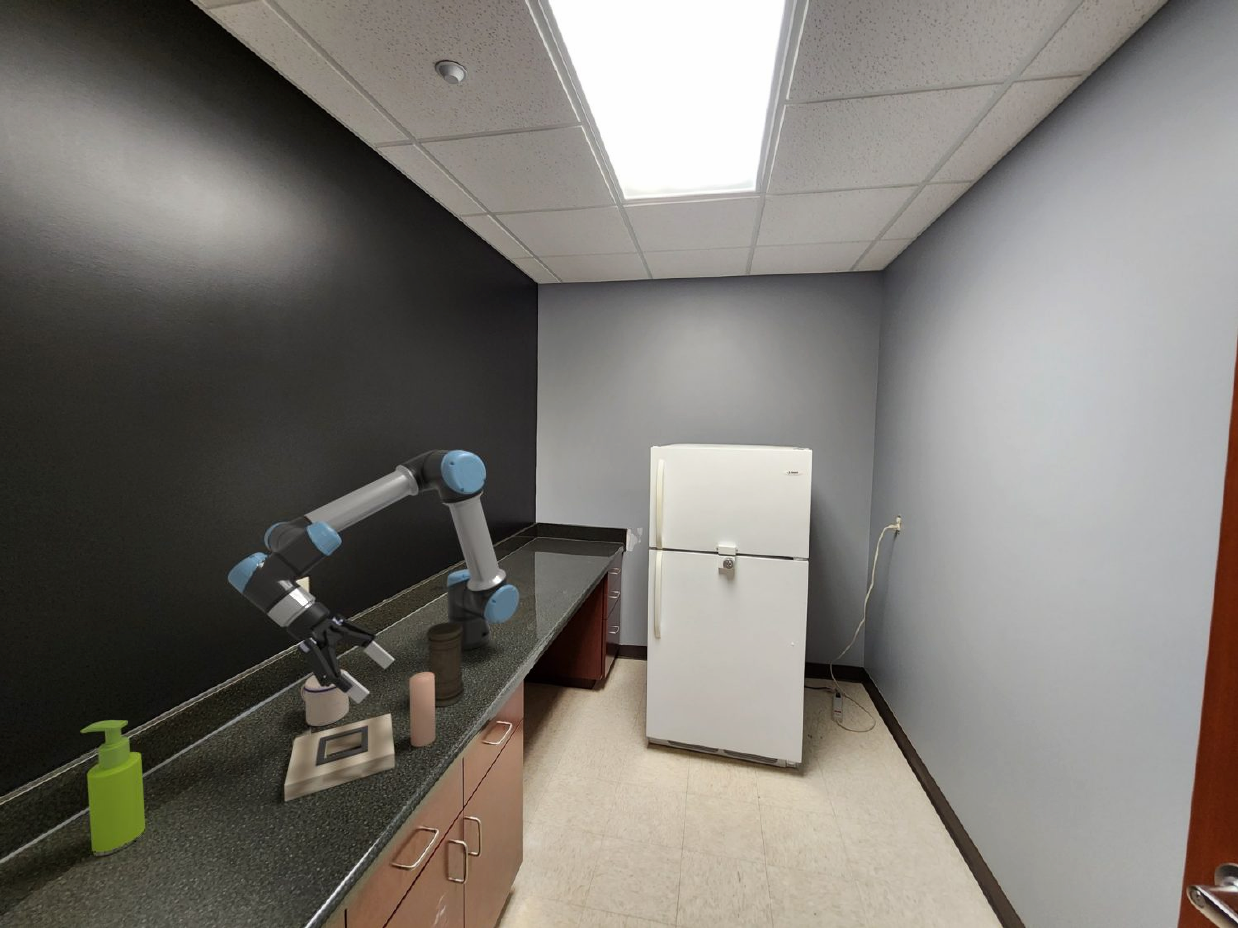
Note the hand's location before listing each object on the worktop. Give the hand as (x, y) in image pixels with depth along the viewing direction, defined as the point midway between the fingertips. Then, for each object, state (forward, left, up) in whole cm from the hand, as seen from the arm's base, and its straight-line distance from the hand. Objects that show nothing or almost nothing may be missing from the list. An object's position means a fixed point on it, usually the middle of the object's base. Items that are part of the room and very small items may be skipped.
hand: (378, 680), depth 98 cm
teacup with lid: (+12, -18, -14) cm, 26 cm away
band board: (+7, +2, -14) cm, 16 cm away
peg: (-8, +3, -14) cm, 17 cm away
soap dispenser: (+39, +6, -14) cm, 42 cm away
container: (-15, -12, -14) cm, 24 cm away
